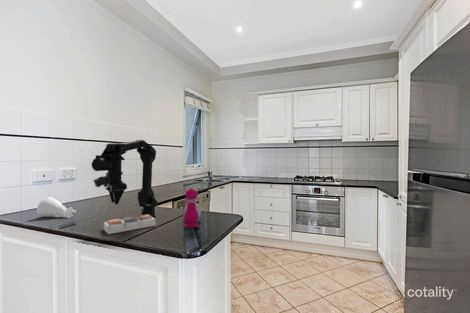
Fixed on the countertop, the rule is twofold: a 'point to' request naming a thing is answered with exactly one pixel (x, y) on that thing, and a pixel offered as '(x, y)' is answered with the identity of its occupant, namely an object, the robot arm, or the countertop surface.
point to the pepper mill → (191, 208)
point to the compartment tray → (129, 225)
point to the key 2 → (144, 217)
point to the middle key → (130, 219)
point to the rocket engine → (53, 209)
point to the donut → (196, 209)
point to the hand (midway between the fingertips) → (114, 203)
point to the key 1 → (114, 222)
